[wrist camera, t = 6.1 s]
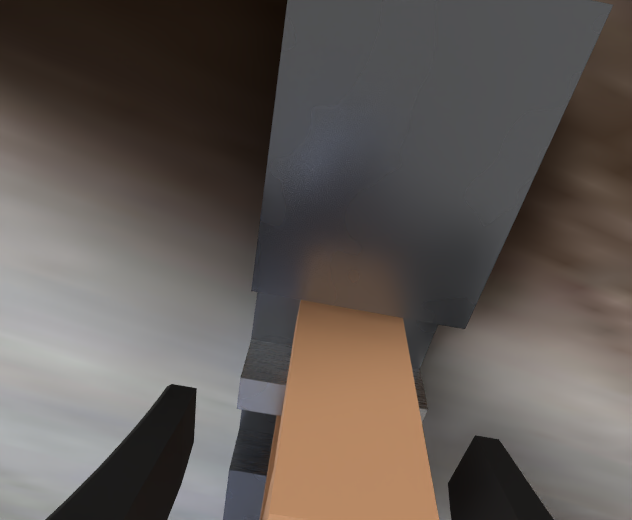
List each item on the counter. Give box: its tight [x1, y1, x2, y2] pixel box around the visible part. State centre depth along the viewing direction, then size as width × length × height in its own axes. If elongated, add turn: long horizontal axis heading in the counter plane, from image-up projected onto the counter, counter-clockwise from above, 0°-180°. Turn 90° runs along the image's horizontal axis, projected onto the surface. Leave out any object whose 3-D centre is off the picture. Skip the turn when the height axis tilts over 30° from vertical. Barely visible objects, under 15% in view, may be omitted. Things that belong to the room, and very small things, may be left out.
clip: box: [259, 300, 439, 520], centre depth 11 cm, size 5×3×6 cm, turn 169°
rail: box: [223, 0, 613, 520], centre depth 13 cm, size 20×5×3 cm, turn 170°
